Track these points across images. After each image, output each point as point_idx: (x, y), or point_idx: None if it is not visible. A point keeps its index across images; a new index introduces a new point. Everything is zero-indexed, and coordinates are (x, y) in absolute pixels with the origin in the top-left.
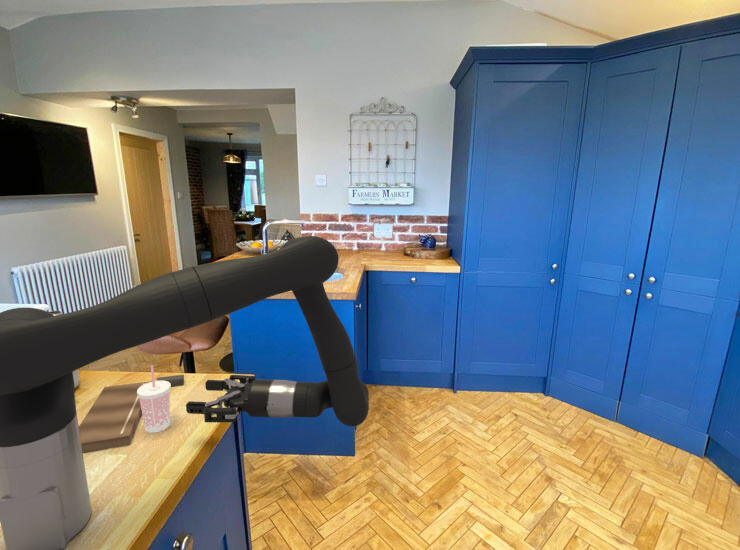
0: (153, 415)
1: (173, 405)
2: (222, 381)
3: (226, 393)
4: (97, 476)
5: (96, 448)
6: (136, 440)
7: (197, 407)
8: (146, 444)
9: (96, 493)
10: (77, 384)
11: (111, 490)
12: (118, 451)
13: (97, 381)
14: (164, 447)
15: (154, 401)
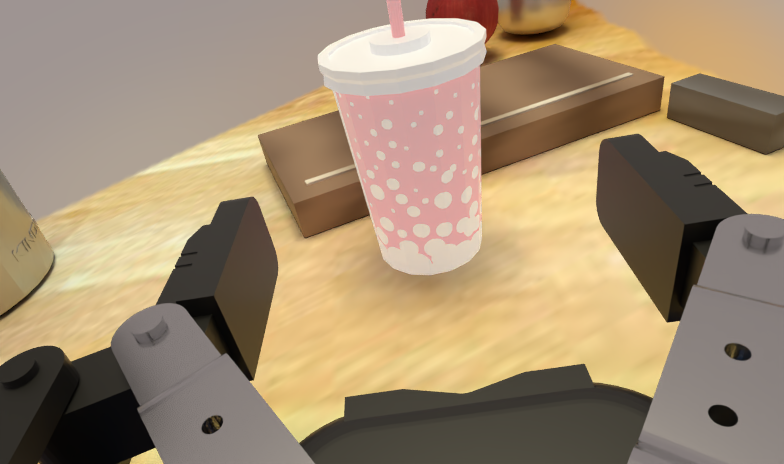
0: (361, 181)
1: (593, 209)
2: (699, 223)
3: (435, 401)
4: (149, 259)
5: (279, 185)
6: (330, 239)
7: (170, 282)
8: (303, 277)
9: (59, 301)
10: (548, 23)
11: (52, 329)
12: (270, 233)
13: (603, 36)
14: (275, 344)
15: (343, 109)
